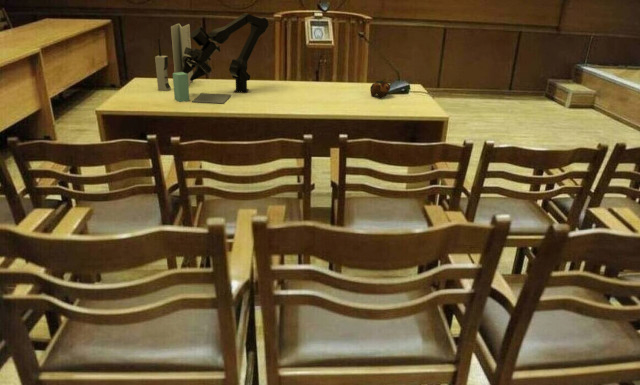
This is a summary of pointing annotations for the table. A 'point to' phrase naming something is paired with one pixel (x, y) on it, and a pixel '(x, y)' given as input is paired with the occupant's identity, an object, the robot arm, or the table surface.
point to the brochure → (180, 47)
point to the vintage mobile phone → (162, 71)
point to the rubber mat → (211, 98)
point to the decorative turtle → (380, 88)
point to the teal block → (181, 86)
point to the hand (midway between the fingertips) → (185, 78)
